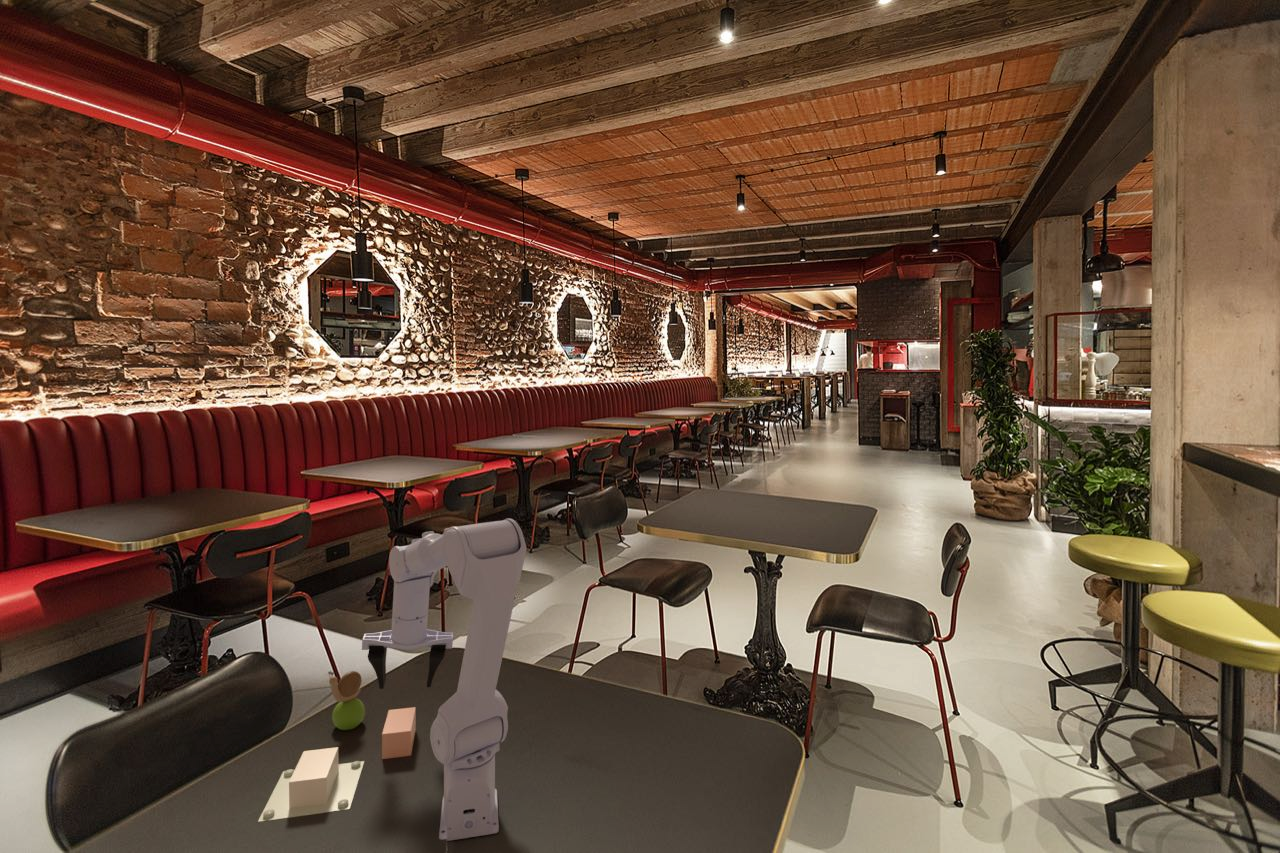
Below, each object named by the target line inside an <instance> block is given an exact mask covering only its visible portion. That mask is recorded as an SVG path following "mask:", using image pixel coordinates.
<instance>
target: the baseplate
mask: <svg viewBox="0 0 1280 853" xmlns="http://www.w3.org/2000/svg"><path fill="white" fill-rule="evenodd" d="M364 764H365V760H362V761H360V760H355V761H353V762H347V763H339V772H338V774H337V777H336V780H335V782H334V785H333V788H332V791H331V793H330V796H329V799H328V802H327V804H320V805H313V806H305V807H298V808H291V809H289V781H290V779H291V777H292V775H293V773H294V771H295V769H292V768H291V769H290V768H289V769H287V770H283V771H282V772H281V775H280V777H279V780H278V781H277V783H276V785H275V787H274V789H273V791H272V792H271V795H270V797H269V799H268V801H267V802H266V805H265V806H264V809H263V811H262V812H261V814H260V816H259V818H258V821H257V823H262V822H267V821H276V820H281V819H282V820H283V819H289V818H297V817H304V816H310V815H317V814H323V813H324V814H325V813H332V812H339V811H345V810H347V811H348V810H350V808H351V807H352V802H353V801H354V800H353V799H354V796H355V793H356V790H357V787H358V783H359V781H360V780H359V779H360V777H361V773H362V770H363V767H364Z"/></svg>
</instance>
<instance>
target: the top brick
mask: <svg viewBox="0 0 1280 853" xmlns="http://www.w3.org/2000/svg"><path fill="white" fill-rule="evenodd" d="M416 710H417V709H416V707H415V706H413V707H405V708H404V707H403V708H396V709H395V708H394V709H388V711H387V715H386V719H385V722H384V727H383V729H382V733H381V750H382V752H381V755H382V756H381V758H382V760H385V759H394V758H402V757H409V756H412V752H413V746H414V741H415V735H416V730H417V728H416V726H417V724H416V723H417V722H416V716H417V715H416V714H417V713H416Z"/></svg>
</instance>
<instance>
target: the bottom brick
mask: <svg viewBox="0 0 1280 853" xmlns="http://www.w3.org/2000/svg"><path fill="white" fill-rule="evenodd" d="M339 764H340V763H339V747H338V746H335V747H329V748H327V747H326V748H320V749H311V750H310V749H309V750H304V751H303V752H302V753H301V756H300V758H299V760H298V762H297V764H296V766H295V769H294V770H295V771H294V773H293V775H292V777H291V779H290V781H289V809H291V808H298V807H305V806H313V805H320V804H327V802H328V799H329V796H330V793H331V791H332V788H333V785H334V782H335V780H336V777H337V774H338V772H339Z"/></svg>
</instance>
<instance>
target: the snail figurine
mask: <svg viewBox="0 0 1280 853" xmlns="http://www.w3.org/2000/svg"><path fill="white" fill-rule="evenodd" d="M327 674H328V675H329V680H328V682H329V685H330V689H331V694H332V696H333V698H334V700H335V701H336V702H338V703H337V704H336V705H335V706H334V708H333V711H332V714H331V720H332V722H333V723H332V724H333V725H334V726H335V727H336V728H337V729H338V730H341V731H349V730H353V729H355V728H357V727H358V726H360V724H361V723H362V722H363V720H364V718H365V715H366V707H365V705H364V703H363V701H362V700H360V699H359V698H356V697H357V696H359V693H360V692H361V690H362V688H361V685H362V680H363V679H362V675H361V674H360V673H359V672H358V671H354V670H352V671H348V672H346V673H345V674H344V675H343V676H342V677H341V678H340V679H338V677H337V676H333V675H335V672H334V671H331V670H329V671H328V672H327ZM354 692H355V693H354Z"/></svg>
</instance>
